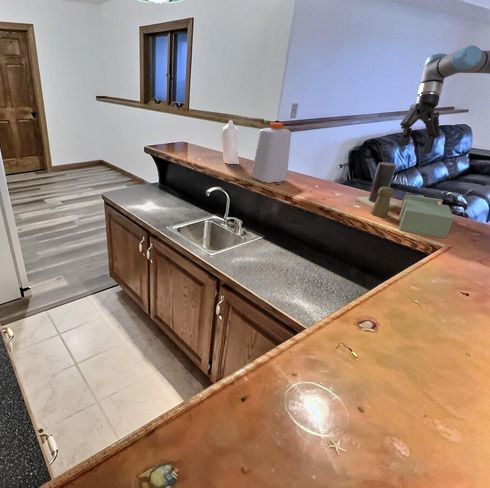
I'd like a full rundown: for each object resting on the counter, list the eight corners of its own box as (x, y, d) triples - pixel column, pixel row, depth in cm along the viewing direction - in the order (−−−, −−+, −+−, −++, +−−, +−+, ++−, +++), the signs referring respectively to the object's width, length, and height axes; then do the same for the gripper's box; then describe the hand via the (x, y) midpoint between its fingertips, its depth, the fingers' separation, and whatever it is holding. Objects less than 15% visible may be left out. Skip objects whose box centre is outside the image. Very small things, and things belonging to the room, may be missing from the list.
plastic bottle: (289, 181, 179) (299, 124, 166) (265, 184, 174) (273, 126, 161) (271, 174, 191) (279, 120, 179) (248, 176, 186) (254, 121, 174)
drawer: (400, 204, 147) (405, 191, 144) (436, 210, 142) (441, 196, 139) (401, 218, 133) (406, 203, 131) (440, 225, 128) (446, 210, 125)
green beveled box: (398, 217, 137) (405, 198, 133) (441, 224, 130) (448, 205, 127) (399, 230, 125) (406, 210, 122) (445, 238, 119) (454, 218, 116)
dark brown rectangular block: (388, 203, 148) (400, 165, 141) (375, 203, 147) (386, 166, 140) (377, 198, 154) (388, 161, 147) (364, 198, 153) (375, 162, 146)
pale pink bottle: (231, 166, 206) (235, 122, 195) (216, 163, 212) (220, 120, 201) (242, 163, 213) (246, 120, 202) (227, 160, 220) (231, 118, 209)
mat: (398, 207, 147) (399, 205, 146) (373, 208, 145) (373, 206, 144) (378, 198, 157) (379, 195, 157) (354, 199, 155) (355, 197, 155)
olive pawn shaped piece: (371, 210, 143) (378, 184, 138) (387, 213, 140) (396, 186, 135) (370, 215, 138) (377, 188, 133) (387, 218, 136) (396, 190, 131)
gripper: (438, 107, 148) (426, 157, 149) (397, 89, 139) (385, 142, 141) (458, 103, 141) (445, 155, 142) (416, 84, 132) (403, 140, 134)
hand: (415, 149), depth 142 cm, fingers open, 13 cm apart
